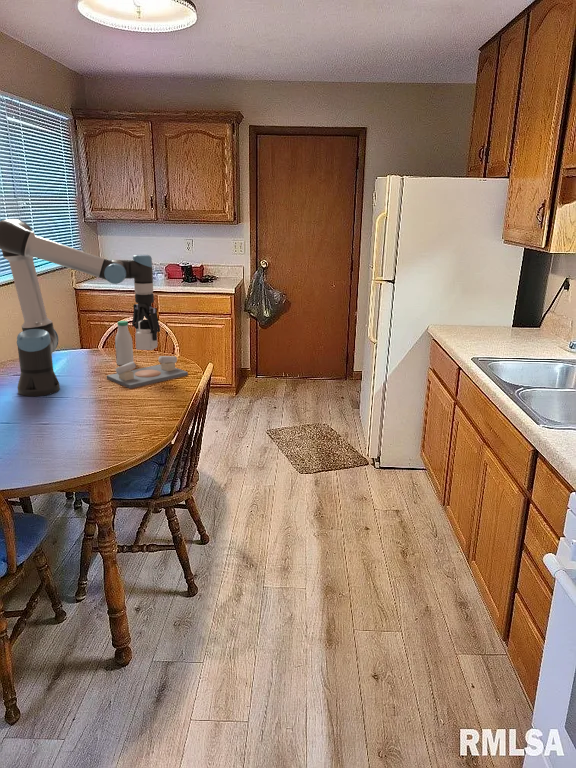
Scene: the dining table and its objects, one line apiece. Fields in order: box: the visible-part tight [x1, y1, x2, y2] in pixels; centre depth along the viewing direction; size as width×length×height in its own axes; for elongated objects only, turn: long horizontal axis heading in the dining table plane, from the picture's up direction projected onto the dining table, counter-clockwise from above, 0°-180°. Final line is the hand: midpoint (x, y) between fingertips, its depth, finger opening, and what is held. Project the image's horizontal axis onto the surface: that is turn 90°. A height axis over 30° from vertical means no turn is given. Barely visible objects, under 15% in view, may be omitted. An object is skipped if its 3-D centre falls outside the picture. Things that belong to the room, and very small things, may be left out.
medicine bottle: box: [134, 319, 156, 351], centre depth 235 cm, size 7×7×12 cm
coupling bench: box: [106, 355, 189, 390], centre depth 239 cm, size 29×18×8 cm, turn 137°
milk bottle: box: [114, 320, 134, 366], centre depth 257 cm, size 8×8×20 cm
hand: (146, 345), depth 236 cm, fingers closed on medicine bottle, 10 cm apart
